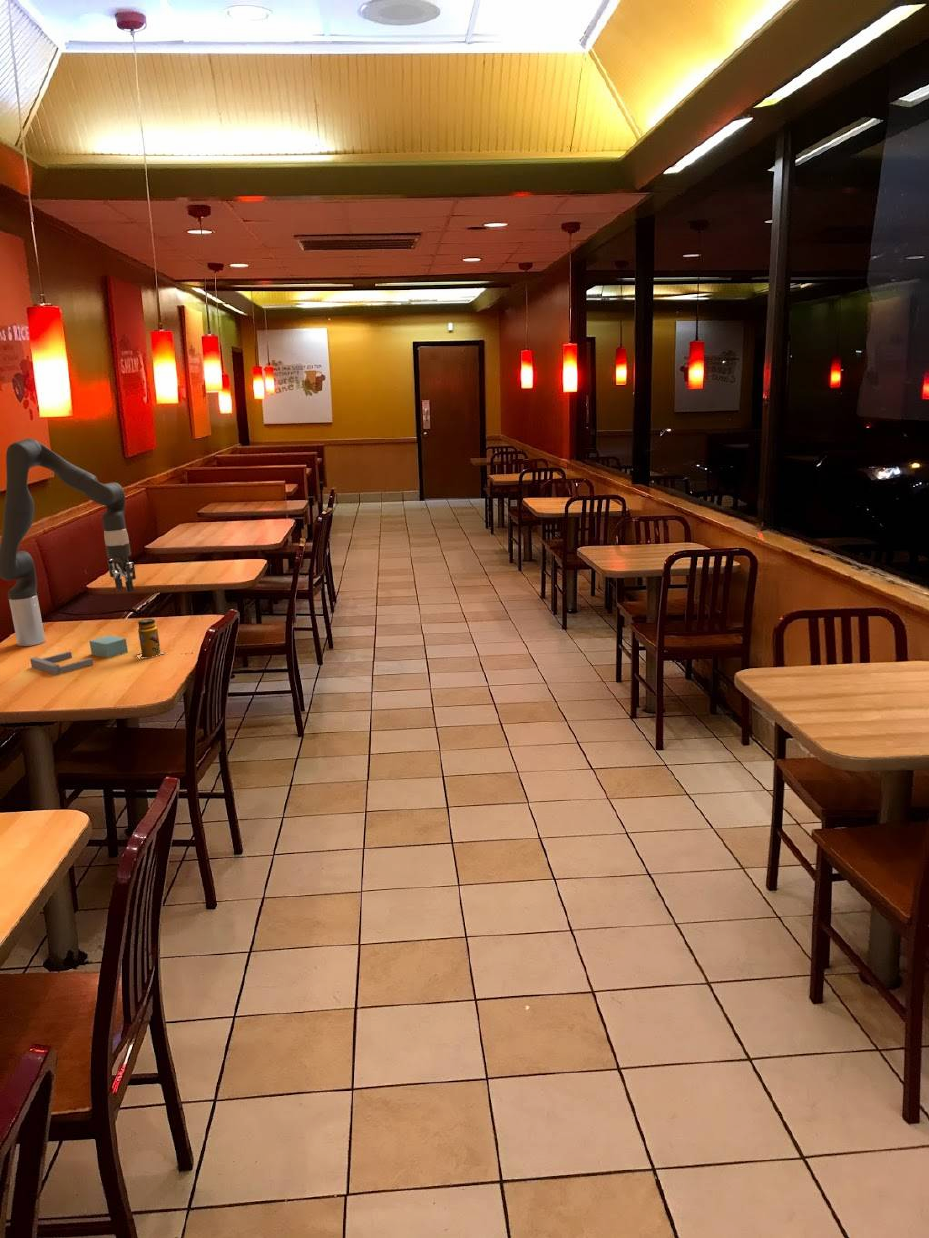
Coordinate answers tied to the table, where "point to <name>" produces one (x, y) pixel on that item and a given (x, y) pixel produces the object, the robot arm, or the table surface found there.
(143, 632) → the condiment
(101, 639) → the carton
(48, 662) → the grey u-shaped bracket
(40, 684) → the table surface
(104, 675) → the table surface
